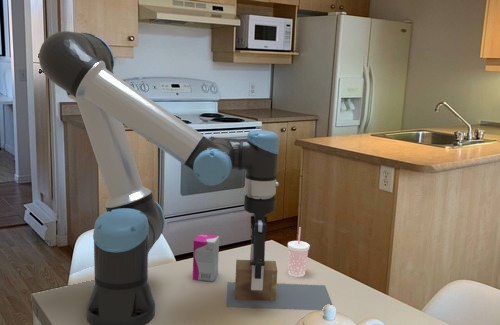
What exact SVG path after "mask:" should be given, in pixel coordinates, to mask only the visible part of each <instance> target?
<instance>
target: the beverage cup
mask: <svg viewBox="0 0 500 325" xmlns="http://www.w3.org/2000/svg"><path fill="white" fill-rule="evenodd" d="M301 229H302V227H301V226H299V227H298V236H297V237H298V238H297V240H292V241H288V242H287V249H288V253H287V254H288V257H287V258H288V260H287V261H288V264H287V266H288V268H287V269H288V270H287V272H288V275H289V276H292V277H296V278H301V277H304V276H305V274H306V269H307V262H308V261H307V260H308V255H309V250H310V247H311V245H310V244H309V243H307V242H306V241H302V240H301Z"/></svg>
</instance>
